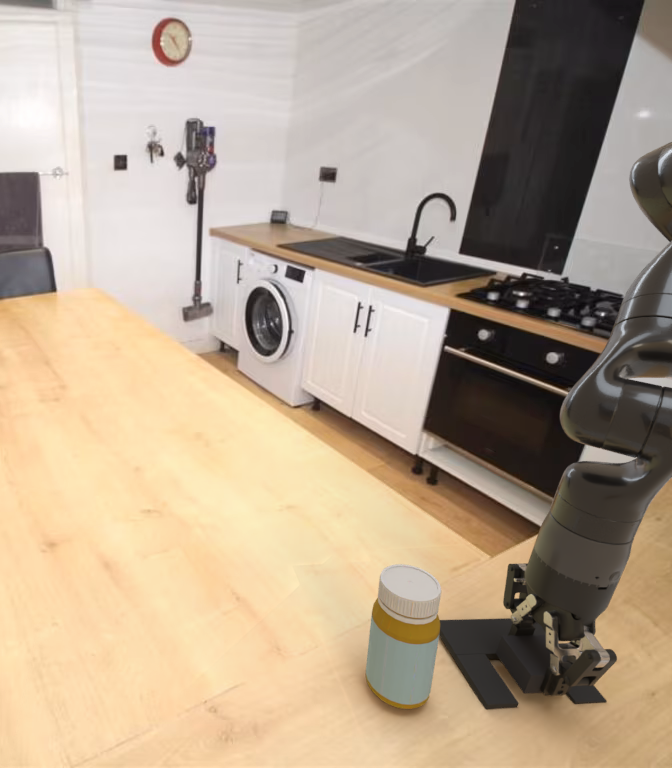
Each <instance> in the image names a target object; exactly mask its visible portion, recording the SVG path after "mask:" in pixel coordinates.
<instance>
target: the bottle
mask: <svg viewBox="0 0 672 768" xmlns="http://www.w3.org/2000/svg"><path fill="white" fill-rule="evenodd" d="M377 588H378V590H377V591H378V593H377V598H376V599H375V601H374V602H373V603H372V610H371V617H370V626H369V634H368V635H369V636H368V645H367V654H366V662H365V663H366V664H365V679H366V683H367V686H368V687H369V689H370V691H372V693H374V695H375V696H376V697H378V699H380V700H381V701H382V702H384V703H386V704H387V705H389V706H392V707H394V708H397V709H401V710H409V709H410V710H412V709H418V708H420V707H422V706H423V705H425V704H426V703H427V702H428V700H429V699H430V694H431V691H432V685H433V678H434V672H435V666H436V659H437V653H438V648H439V647H438V645H439V640H440V636H439V634H440V620H441V619H440V616H439V610H440V609H439V608H440V604H441V597H442V586H441V584H440V582H439V580H438V579H437V578H436V577H435V576H434V575H433V574H432V573H430V572H428V571H427V570H425V569H423V568H420V567H418V566H415V565H411V564H404V563H398V564H397V563H396V564H391V565H388V566H386V567H384V568H383V569H382V570H381V572H380V574H379V581H378V587H377Z"/></svg>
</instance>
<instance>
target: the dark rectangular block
mask: <svg viewBox="0 0 672 768" xmlns="http://www.w3.org/2000/svg"><path fill="white" fill-rule="evenodd" d="M496 655H497V656H498V657H499V659H498V660H500V662H501V663H502V665H503V666H504V667H505V669H506V670H507V672H508V673H509V674H510V676H511V678H512V679H513V680H514V682H515V684H516V685H517V686H518V687H519V688H520V690H521V692H522V693H523V694H543V693H542V691H541V690H540V687H541V685H542V682H543V680H544V677H545V673H546V670H547V668H548V667H550V651H548V650H547V649H546V635H525V636H515V635H510V636H501V639H500V642H499V645H498V648H497V650H496ZM562 662H567V660H566V659H565V658H564V657H563V658H562ZM571 688H572V686H569V687H568V689H567V692H570V690H571Z"/></svg>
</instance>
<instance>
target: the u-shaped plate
mask: <svg viewBox="0 0 672 768" xmlns="http://www.w3.org/2000/svg"><path fill="white" fill-rule="evenodd" d="M439 620H440V634H439V638H440V639H441V640H442V642H443V643H444V645H445V647H446V649H447V650H448V652H449V654H450V655H451V656H452V658H453V660H454V662H455V664H456V665H457V666H458V668H459V670H460V671H461V673H462V674H463V676H464V678H465V679H466V681H467V683H468V684H469V686H470V688H471V689H472V691H473V693H474V694H475V696H476V697H477V699H478V700H479V702H480V703H481V705H482V707H483V708H484V710H497V709H498V710H499V709H501V710H502V709H517V708H518V707H519V704H520V703H519V701H518V700H517V698H516V697H515V696H514V694H513V693H512V691H511V690H510V688H509V687H508V686H507V684H506V682H505V680H504V679H503V678H502V676H501V674H499V672H498V671H497V669H496V667H494V665H493V663H492V662H491V660H500V659H499V657H498V656H497V655H496V650H497V648H498V645H499V642H500V639H501V636H508V634H509V631H510V628H511V626H512V623H513V622H512V620H511V617H510V618H509V617H508V618H507V617H506V618H469V619H468V618H467V619H439ZM532 625H533V626H534V627H535V628H536V629H535V631H534V634H533V635H546V633H545V631H544V629H543V628H542V626H541V625H540V624H538V623H537V624H532ZM563 657H564V658H565V659H566V660H567V656H563ZM565 695H566V696H567V698H569V699H570V701H571V702H572V703H573V704H574V705H587V704H604V703H605V704H606V703H607V702H608V701H607V699H606V698H605V697H604V696H603V695H602V693H601V692H600V691H599V690H598V689H597V688H596V686H595V684H594V685H593V686H587V685H581V686H572V688H571V690H570V692H566V694H565Z"/></svg>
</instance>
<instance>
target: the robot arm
mask: <svg viewBox="0 0 672 768" xmlns="http://www.w3.org/2000/svg"><path fill="white" fill-rule="evenodd" d="M628 180H629V188H630V191H631V194H632V197H633V199H634V201H635V203H636V204H637V206H638V208H639V210H640V211H641V212H642V214H643V215H644V216H645V218H646V219H647V220H648V221H649V222H650V223H651V224H652V225H653V227H654V228H655V229H656V230H657V231H658V232H659V233H660V234H661V235H662V236H663V237H664V238H665V239H666V240H667V241H668V242H669V243H667V245H665V247H663V249H661V250H660V252H658V254H657V255H656V256H654V258H652V260H651V261H649V262H648V263H647V264H646V266H645V267H644V268H643V269H642V270H641V272H639V274H638V275H637V276H636V277H635V278H634V280H633V281H632V283H631V284H630V286H629V288H628V289H627V290H626V292H625V295H624V296H623V298H622V301H621V304H620V307H619V310H618V312H617V316H616V318H615V320H614V324H613V326H612V329H611V331H610V332H611V333H610V335H609V338H608V340H607V342H606V344H605V346H604V348H603V350H602V351H601V352H600V354H599V355H598V356H597V358H596V359H595V361H594V362H593V363H592V365H590V367H589V368H588V369H587V370H586V372H584V373H583V375H582V376H581V377H580V378H579V379H578V380H577V381H576V382H575V384H574V385H573V386H572V387H571V388H570V390H569V392H568V393H567V394H566V395H565V397H564V399H563V401H562V404H561V406H560V410H559V423H560V426H561V429H562V430H563V432H564V435H566V436H567V437H568V438H569V439H570V440H572V441H574V442H577V443H579V444H582V445H585V446H589V447H592V448H596V449H601V450H603V451H607V452H611V453H615V454H619V455H622V456H626V457H630V458H634V459H632V460H629V461H626V462H607V461H606V462H605V461H595V460H594V461H593V460H581V461H575V462H572V463H570V464H569V465H568V466H567V467H566V468H565V469H564V471H563V472H562V475H561V477H560V480H559V482H558V485H557V488H556V490H555V494H554V496H553V499H552V502H551V504H550V508H549V510H548V512H547V514H546V516H544V519H543V520H542V523H541V525H540V527H539V529H538V533H537V536H536V539H535V541H534V545H533V547H532V551H531V553H530V555H529V559H528V562H526V563H509V564H508V565H507V571H506V577H505V578H506V579H505V585H504V592H503V600H502V603H503V606H504V608H505V609H506V610H510V612H511V615H510V618H511V620H512V622H513V623H512V626H511V628H510V631H509V634H508V636H510V635H515V636H525V635H533V634H534V631H535V629H536V628H535V627H534V626H533V625H532V624H537V623H538V624H540V625H541V626H542V628H543V629H544V631H545V633H546V649H547V650H548V651H550V667H548V668H547V670H546V673H545V677H544V680H543V682H542V685H541V687H540V690H541V691H542V693H541V694H543V696H550V697H563V696H565V695H566V692H567V689H568V687H569V686H581V685H587V686H593V685H594V686H595V684H596V683H597V682H598V681H599V680H600V679H601V678H602V677H603V676H605V674H606V673H607V672H608V670H609V669H611V667H612V666H613V665H614V664H615V663H616V662H617V661H618V656H617V654H616V652H615V651H614V650H613V649H612V648H604V647H603V646H602V644H601V643H600V642H599V640H598V639H597V637H596V636H595V635H596V631H597V630H596V629H597V628H596V621H597V619H598V617H600V616H601V615H602V614H603V613H604V612H605V611H606V610H607V609H608V608H609V605H610V602H611V600H612V598H613V596H614V593H615V591H616V589H617V587H618V584H619V582H620V580H621V577H622V576H623V573H624V571H625V568H626V567H627V564H628V561H629V559H630V557H631V552H632V547H633V543H634V540H635V537H636V534H637V532H638V530H639V528H640V526H641V523H642V521H643V518H644V517H645V515H646V513H647V510H648V509H649V507H650V505H651V503H652V502H653V500H654V499H655V497H656V496H657V495H658V494H659V492H660V491H661V490H662V489H663V488H664V486H665V485H666V484H667V483H668V482H670V480H671V479H672V387H670V386H662V385H659V384H655V383H654V384H653V383H650V382H645V381H640V380H634V379H666V378H667V379H668V378H672V141H669V142H668V143H665V144H663V145H661V146H660V147H657V148H655V149H653V150H651V151H649V152H647V153H646V154H644V155H642V156H640V157H639V158H638V159H637V160H636V161H635V162H634V163H633V164H632V166H631V168H630V171H629V177H628ZM516 594H518V598H517V597H516ZM560 642H561V643H560ZM563 642H564V643H563ZM563 656H567V662H562V658H563Z"/></svg>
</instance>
